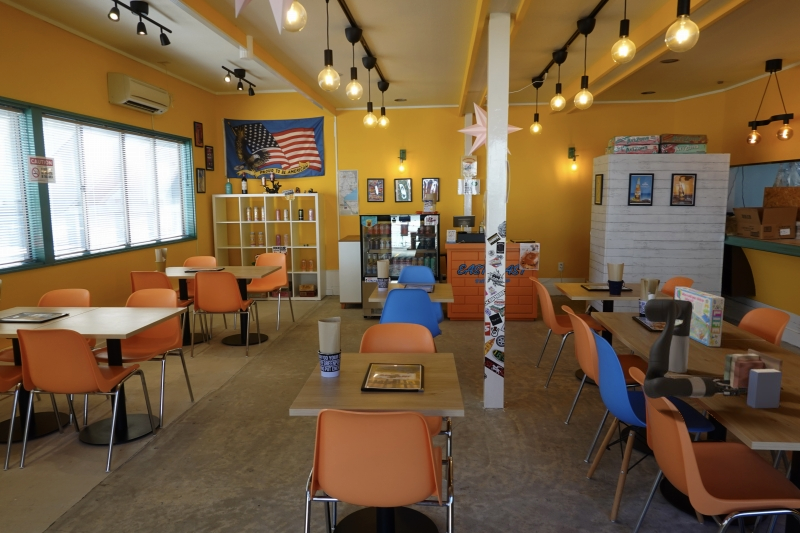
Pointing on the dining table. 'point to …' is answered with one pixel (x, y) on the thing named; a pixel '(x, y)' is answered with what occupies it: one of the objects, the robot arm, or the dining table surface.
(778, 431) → the dining table surface
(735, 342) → the dining table surface
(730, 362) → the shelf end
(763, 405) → the boxed book
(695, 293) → the game box
